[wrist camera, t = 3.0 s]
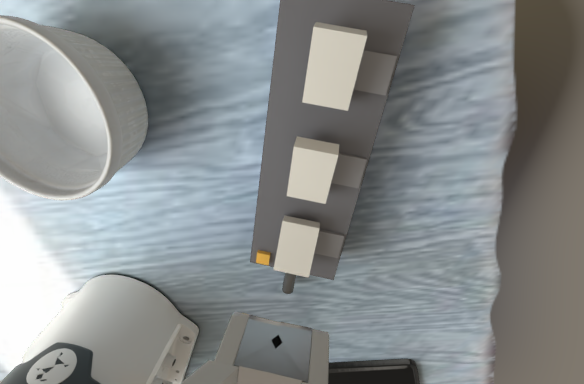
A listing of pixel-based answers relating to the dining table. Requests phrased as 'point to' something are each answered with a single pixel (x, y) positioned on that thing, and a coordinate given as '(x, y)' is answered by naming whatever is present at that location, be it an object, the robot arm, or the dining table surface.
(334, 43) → the block
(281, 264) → the rocker
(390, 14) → the power strip
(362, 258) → the dining table surface
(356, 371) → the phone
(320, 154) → the rocker
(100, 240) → the dining table surface
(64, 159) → the ramekin
